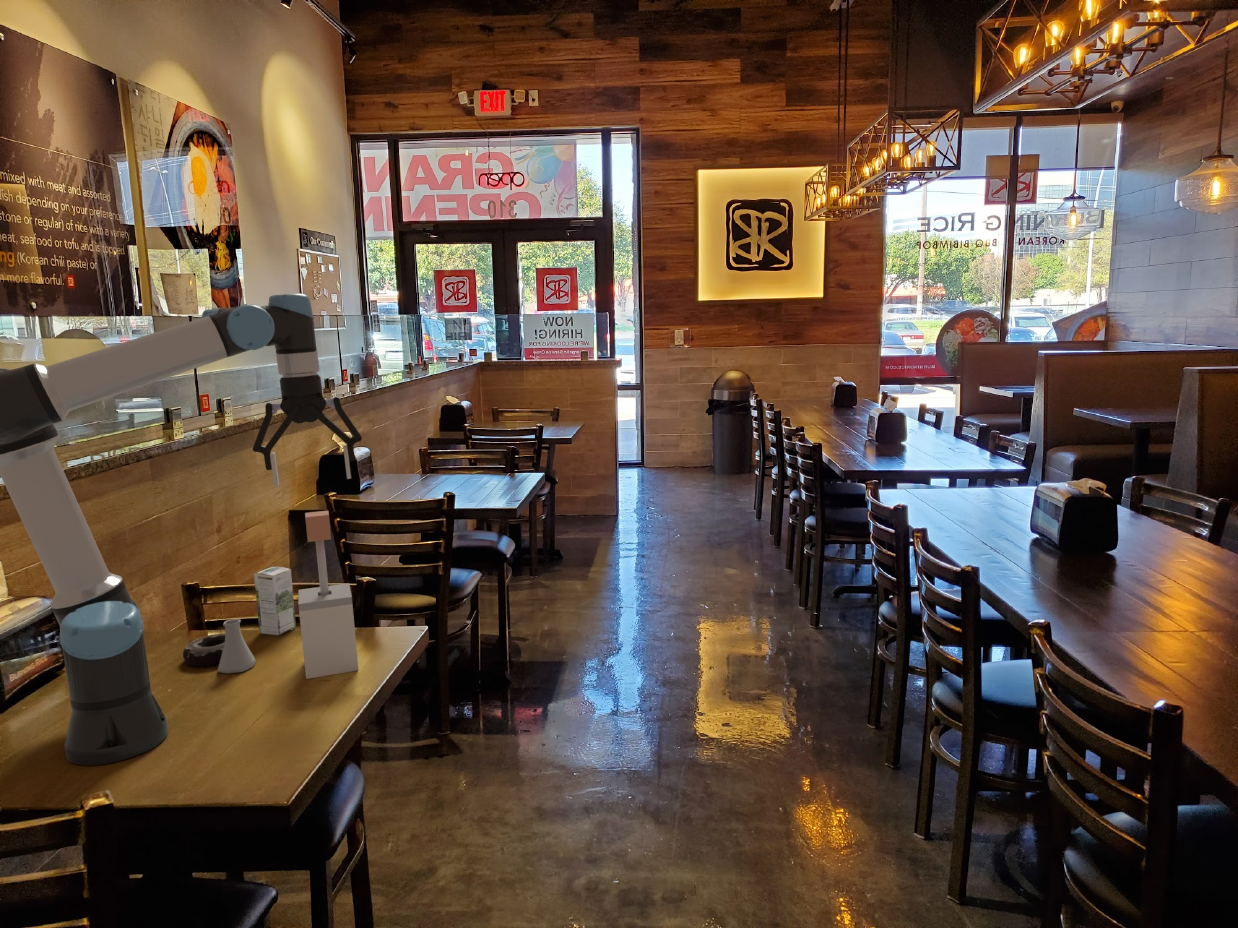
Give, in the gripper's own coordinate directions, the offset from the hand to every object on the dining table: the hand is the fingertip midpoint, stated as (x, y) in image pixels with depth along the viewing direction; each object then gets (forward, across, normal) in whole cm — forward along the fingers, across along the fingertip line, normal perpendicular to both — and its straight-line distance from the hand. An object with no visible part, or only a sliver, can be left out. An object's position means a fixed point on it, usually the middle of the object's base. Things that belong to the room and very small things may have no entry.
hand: (313, 481), depth 170 cm
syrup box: (+38, +13, -26) cm, 48 cm away
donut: (+38, +25, -14) cm, 48 cm away
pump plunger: (+26, +1, +1) cm, 26 cm away
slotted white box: (+38, +1, +1) cm, 38 cm away
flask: (+38, +20, -6) cm, 43 cm away
